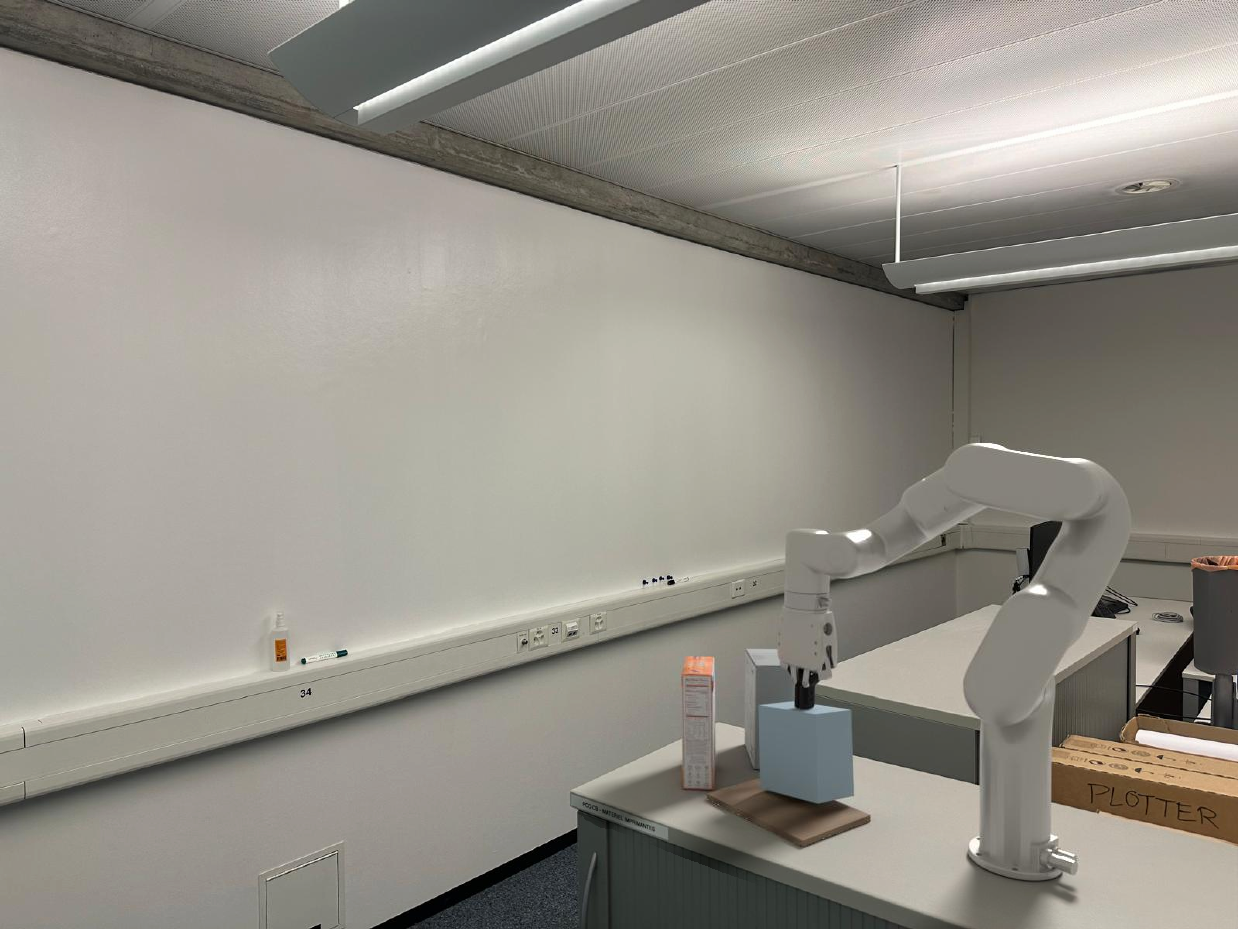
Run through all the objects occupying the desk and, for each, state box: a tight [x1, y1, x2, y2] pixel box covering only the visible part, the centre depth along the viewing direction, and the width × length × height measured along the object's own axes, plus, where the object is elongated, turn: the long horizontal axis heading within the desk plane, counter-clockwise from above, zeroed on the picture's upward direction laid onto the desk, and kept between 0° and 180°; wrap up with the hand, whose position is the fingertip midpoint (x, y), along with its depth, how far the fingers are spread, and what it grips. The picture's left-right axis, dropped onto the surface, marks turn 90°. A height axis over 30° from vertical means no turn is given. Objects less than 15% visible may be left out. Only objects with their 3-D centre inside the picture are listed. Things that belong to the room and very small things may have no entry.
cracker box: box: [681, 655, 716, 791], centre depth 157 cm, size 14×6×21 cm, turn 172°
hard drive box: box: [744, 648, 795, 770], centre depth 168 cm, size 16×8×20 cm, turn 179°
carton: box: [759, 701, 855, 803], centre depth 146 cm, size 13×14×9 cm
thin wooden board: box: [706, 777, 872, 848], centre depth 142 cm, size 22×16×1 cm
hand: (804, 707), depth 145 cm, fingers closed
